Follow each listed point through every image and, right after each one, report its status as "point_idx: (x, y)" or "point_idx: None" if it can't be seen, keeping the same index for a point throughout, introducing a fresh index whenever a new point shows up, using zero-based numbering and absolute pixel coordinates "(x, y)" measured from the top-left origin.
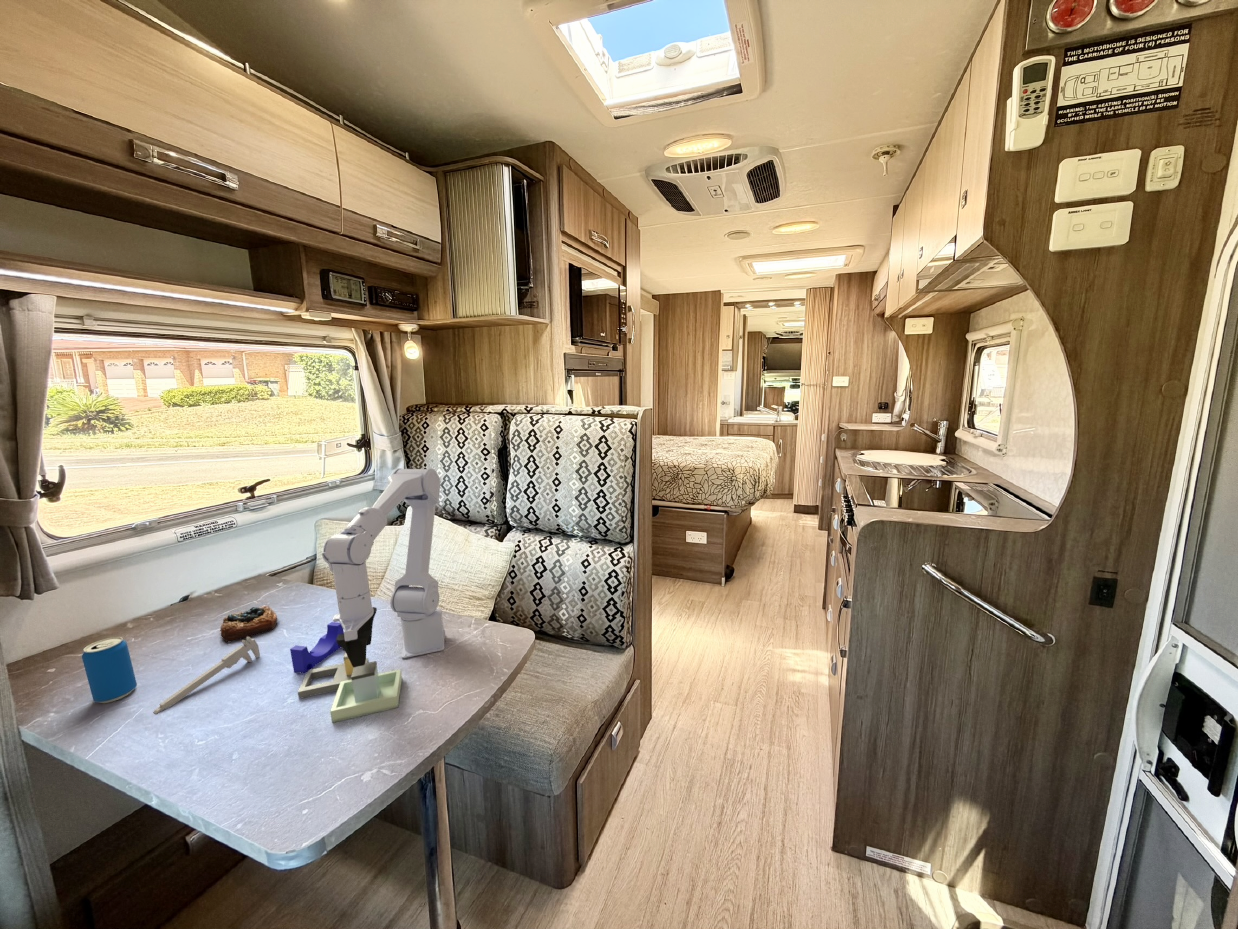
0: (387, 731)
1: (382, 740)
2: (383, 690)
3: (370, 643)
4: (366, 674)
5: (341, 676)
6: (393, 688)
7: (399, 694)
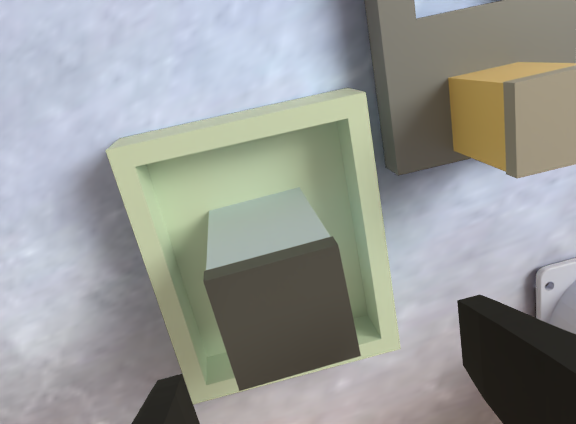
0: (54, 381)
1: (3, 383)
2: None
3: (468, 373)
4: (227, 353)
5: (446, 53)
6: None
7: None
